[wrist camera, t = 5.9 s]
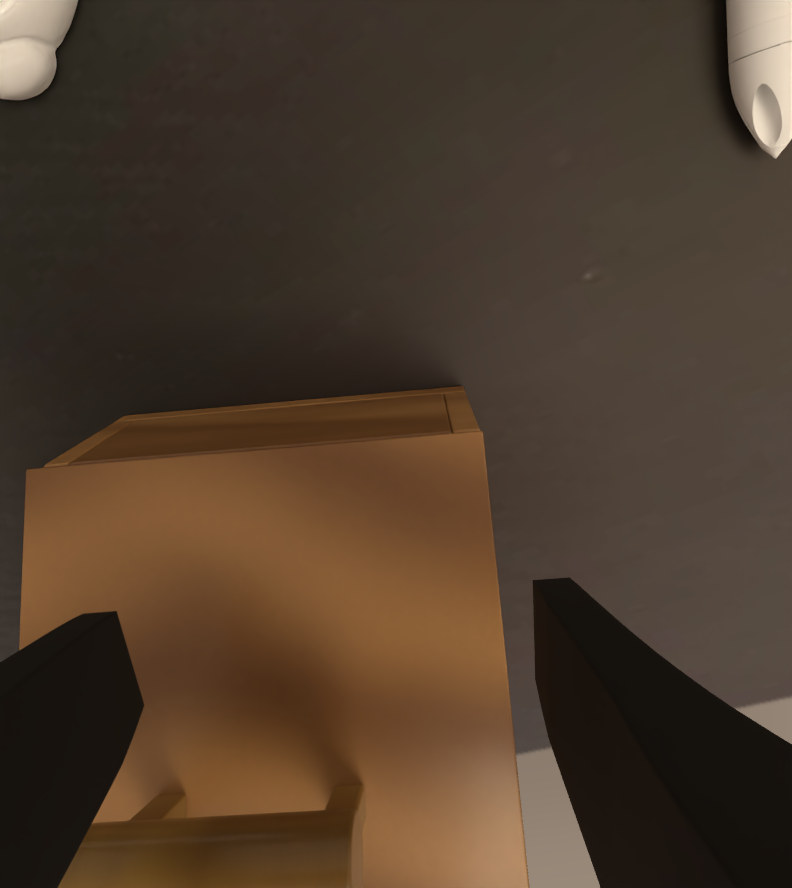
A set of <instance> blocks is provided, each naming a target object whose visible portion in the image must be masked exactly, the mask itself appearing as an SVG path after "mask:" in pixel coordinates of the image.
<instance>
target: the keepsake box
mask: <svg viewBox="0 0 792 888" xmlns="http://www.w3.org/2000/svg"><path fill="white" fill-rule="evenodd" d="M472 431H480V429H479V427H478V424H477V421H476V419H475V416H474V414H473V411H472V408H471V406H470V403H469V401H468V398H467V395H466V393H465V390H464V387H463V386H457V387H446V388H434V389H423V390H411V391H400V392H389V393H377V394H366V395H355V396H343V397H332V398H320V399H309V400H298V401H286V402H275V403H264V404H252V405H241V406H229V407H218V408H207V409H195V410H184V411H173V412H161V413H150V414H138V415H127V416H123V417H122V418H120V419H118V420H117V421H115V422H114V423H112V424H111V425H109V426H107V427H106V428H104V429H102V430H101V431H99V432H98V433H96V434H94V435H93V436H91V437H89V438H88V439H86V440H84V441H83V442H81V443H80V444H78V445H76V446H75V447H73V448H71V449H70V450H68V451H66V452H65V453H63V454H62V455H60V456H58V457H57V458H55V459H53V460H52V461H50V462H49V463H47V464H45V465H44V467H56V466H68V465H80V464H92V463H104V462H115V461H127V460H139V459H151V458H163V457H175V456H187V455H199V454H210V453H222V452H234V451H246V450H258V449H270V448H282V447H294V446H306V445H317V444H329V443H341V442H353V441H365V440H377V439H389V438H401V437H413V436H424V435H436V434H448V433H460V432H472Z"/></svg>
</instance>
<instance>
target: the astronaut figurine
mask: <svg viewBox="0 0 792 888" xmlns="http://www.w3.org/2000/svg"><path fill="white" fill-rule="evenodd" d="M77 3H78V0H0V99H7V100H26V99H29V98H32V97H34V96H37V95H39V94H40V93H42V92H43V91H44V90H45V89H47V88H48V87H49V85H50V84H51V82H52V80H53V78H54V75H55V72H56V67H57V62H56V56H55V51H56V49H57V48H58V47H59V46H60V44H61V43H62V41H63V39H64V37H65V35H66V33H67V31H68V30H69V27H70V25H71V22H72V20H73V17H74V14H75V10H76V7H77Z"/></svg>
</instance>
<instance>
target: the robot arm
mask: <svg viewBox="0 0 792 888" xmlns="http://www.w3.org/2000/svg"><path fill="white" fill-rule="evenodd" d="M533 603H534V643H535V680H536V685H537V689H538V694H539V698H540V703H541V707H542V712H543V716H544V720H545V724H546V729H547V733H548V737H549V740H550V743H551V746H552V749H553V752H554V755H555V758H556V761H557V764H558V767H559V769H560V772H561V775H562V778H563V781H564V784H565V787H566V790H567V793H568V795H569V798H570V801H571V804H572V807H573V810H574V813H575V815H576V818H577V821H578V824H579V827H580V830H581V832H582V835H583V838H584V841H585V844H586V847H587V850H588V853H589V855H590V858H591V861H592V864H593V867H594V869H595V872H596V875H597V878H598V881H599V884H600V888H792V744H790V743H788V742H787V741H785V740H783V739H782V738H780V737H779V736H777V735H775V734H774V733H772V732H770V731H769V730H767V729H766V728H764V727H762V726H761V725H759V724H758V723H756V722H754V721H753V720H752V719H750V718H748V717H747V716H745V715H743V714H742V713H740V712H739V711H737V710H736V709H734V708H733V707H731V706H730V705H728V704H727V703H725V702H724V701H722V700H721V699H719V698H718V697H716V696H715V695H713V694H712V693H710V692H709V691H708V690H706V689H705V688H703V687H702V686H701V685H699V684H698V683H697V682H695V681H694V680H692V679H691V678H690V677H688V676H687V675H686V674H684V673H683V672H681V671H680V670H679V669H677V668H676V667H675V666H673V665H672V664H671V663H669V662H668V661H667V660H666V659H664V658H663V657H662V656H660V655H659V654H658V653H656V652H655V651H654V650H653V649H652V648H650V647H649V646H648V645H647V644H645V643H644V642H643V641H642V640H641V639H639V638H638V637H637V636H636V635H634V634H633V633H632V632H631V631H630V630H629V629H627V628H626V627H625V626H624V625H623V624H622V623H620V622H619V621H618V620H617V619H616V618H615V617H614V616H612V615H611V614H610V613H609V612H608V611H607V610H606V609H604V608H603V607H602V606H601V605H600V604H599V603H598V602H597V601H596V600H594V599H593V598H592V597H591V596H590V595H589V594H588V593H587V592H585V591H584V590H583V589H582V588H581V587H580V586H579V585H577V584H576V583H575V582H574V581H573V580H572V579H571V578H558V579H545V580H533ZM143 708H144V702H143V699H142V695H141V692H140V688H139V685H138V682H137V678H136V675H135V671H134V668H133V665H132V661H131V658H130V655H129V651H128V648H127V644H126V641H125V638H124V634H123V631H122V627H121V624H120V621H119V617H118V614H117V611H110V612H97V613H83V614H81V615H79V616H77V617H75V618H73V619H71V620H69V621H67V622H66V623H64V624H62V625H60V626H59V627H57V628H55V629H54V630H52V631H50V632H49V633H47V634H45V635H44V636H42V637H40V638H39V639H37V640H35V641H34V642H32V643H31V644H29V645H27V646H26V647H24V648H23V649H21V650H19V651H18V652H16V653H15V654H13V655H12V656H10V657H8V658H7V659H5V660H4V661H2V662H1V663H0V888H58V886H59V884H60V882H61V881H62V879H63V877H64V875H65V873H66V871H67V869H68V867H69V865H70V864H71V862H72V860H73V858H74V856H75V854H76V852H77V850H78V849H79V847H80V845H81V843H82V841H83V839H84V837H85V835H86V833H87V832H88V830H89V828H90V826H91V824H92V822H93V820H94V818H95V817H96V815H97V813H98V811H99V809H100V807H101V805H102V803H103V801H104V799H105V797H106V795H107V793H108V792H109V790H110V788H111V786H112V784H113V782H114V780H115V778H116V776H117V774H118V772H119V770H120V768H121V766H122V764H123V762H124V759H125V757H126V754H127V752H128V749H129V747H130V744H131V741H132V739H133V736H134V733H135V731H136V728H137V725H138V722H139V719H140V716H141V714H142V711H143Z"/></svg>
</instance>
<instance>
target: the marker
mask: <svg viewBox="0 0 792 888" xmlns="http://www.w3.org/2000/svg"><path fill="white" fill-rule="evenodd" d="M726 13H727V43H728V65H729V79H730V86H731V92H732V96H733V100H734V103H735V105H736V108H737V110H738V112H739V114H740V116H741V118H742V120H743V121H744V123H745V125H746V126H747V128H748V129H749V131H750V133H751V134H752V136H753V137H754V138H755V140H756V141H757V143H758V144H759V146H760V147H761V148H762V149H763V150H764V151H765V152H767V153H768V154H770V155H771V156H772V157H774V158H775V159H776V158H777V157H778V155H779V154H780V153H781V152H782V150H783V149H784V148H785V147H786V146H787V144H788V143H789V142H790V140H791V139H792V0H726ZM779 44H780V45H779ZM776 45H778V46H776ZM773 46H775V47H773ZM770 47H772V48H770ZM767 48H769V49H767ZM764 49H766V50H764ZM761 50H763V51H761ZM758 51H760V52H758ZM756 52H757V53H756ZM753 53H755V54H753ZM750 54H752V55H750ZM748 55H749V56H748ZM745 56H747V57H745ZM743 57H744V58H743ZM741 58H742V59H741ZM739 59H740V60H739ZM737 60H738V61H737ZM735 61H736V62H735ZM733 62H734V63H733Z"/></svg>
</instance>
